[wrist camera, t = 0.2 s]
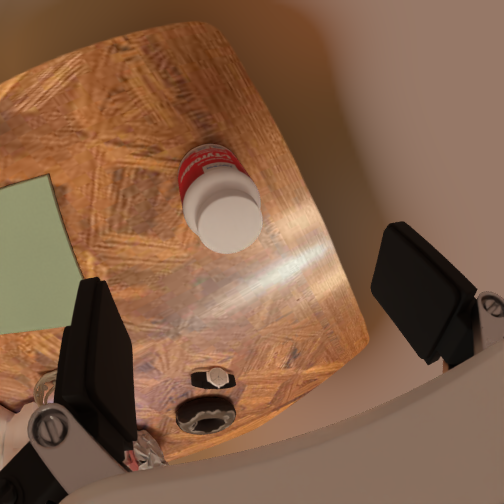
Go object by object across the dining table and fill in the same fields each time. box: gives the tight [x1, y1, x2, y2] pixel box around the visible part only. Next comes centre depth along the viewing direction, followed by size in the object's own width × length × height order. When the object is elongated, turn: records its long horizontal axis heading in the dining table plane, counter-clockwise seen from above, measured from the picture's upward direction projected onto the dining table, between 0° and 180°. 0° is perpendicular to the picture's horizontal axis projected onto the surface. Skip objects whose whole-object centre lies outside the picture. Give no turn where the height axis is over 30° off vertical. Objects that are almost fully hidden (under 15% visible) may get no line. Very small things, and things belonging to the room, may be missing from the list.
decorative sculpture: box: [123, 430, 169, 471], centre depth 52 cm, size 19×21×20 cm
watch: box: [191, 368, 236, 389], centre depth 49 cm, size 8×5×4 cm, turn 63°
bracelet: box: [34, 370, 57, 407], centre depth 38 cm, size 4×8×8 cm, turn 103°
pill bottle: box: [178, 144, 263, 254], centre depth 27 cm, size 6×6×11 cm
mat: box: [0, 174, 84, 334], centre depth 29 cm, size 20×20×1 cm
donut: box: [176, 398, 236, 435], centre depth 55 cm, size 12×12×4 cm
